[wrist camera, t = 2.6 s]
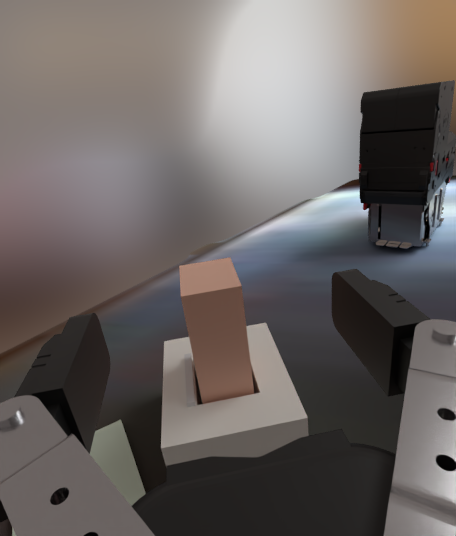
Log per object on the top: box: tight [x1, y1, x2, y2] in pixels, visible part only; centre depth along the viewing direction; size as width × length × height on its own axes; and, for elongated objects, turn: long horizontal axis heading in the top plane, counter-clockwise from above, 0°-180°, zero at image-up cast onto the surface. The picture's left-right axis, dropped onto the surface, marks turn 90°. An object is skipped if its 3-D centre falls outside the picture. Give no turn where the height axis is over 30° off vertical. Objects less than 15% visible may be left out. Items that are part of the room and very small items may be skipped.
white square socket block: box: [161, 323, 308, 468], centre depth 31 cm, size 12×10×6 cm
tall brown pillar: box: [179, 258, 254, 404], centre depth 29 cm, size 5×4×14 cm
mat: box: [12, 420, 146, 536], centre depth 27 cm, size 9×12×1 cm
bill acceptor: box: [359, 80, 456, 249], centre depth 62 cm, size 10×23×25 cm, turn 142°
